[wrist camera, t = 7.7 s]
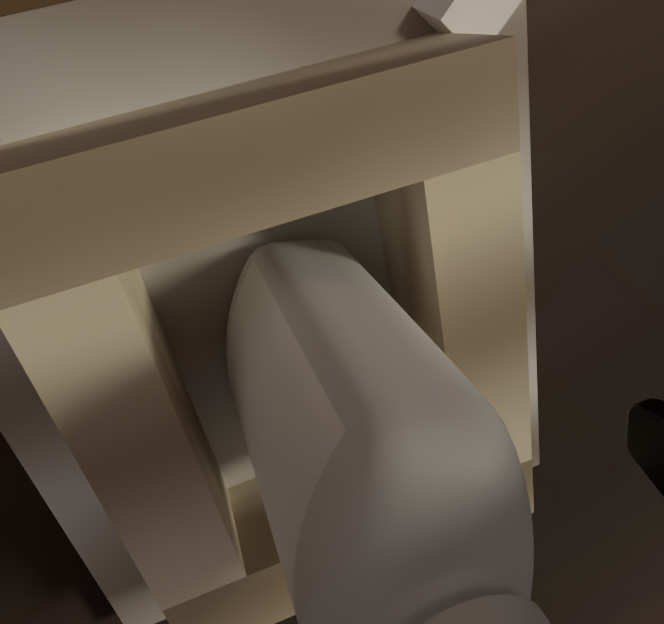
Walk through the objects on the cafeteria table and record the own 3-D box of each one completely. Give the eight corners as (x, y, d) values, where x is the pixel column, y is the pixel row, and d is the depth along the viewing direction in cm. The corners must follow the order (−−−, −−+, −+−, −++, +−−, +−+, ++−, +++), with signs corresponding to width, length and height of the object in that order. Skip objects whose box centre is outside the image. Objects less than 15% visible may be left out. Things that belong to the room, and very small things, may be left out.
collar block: (522, 446, 21) (600, 530, 17) (129, 605, 18) (130, 739, 15) (496, -92, 13) (631, -131, 9) (-202, 65, 10) (-362, 87, 7)
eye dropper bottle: (161, 403, 14) (252, 1343, 4) (272, 203, 13) (800, 866, 3) (307, 448, 16) (610, 1154, 6) (416, 279, 15) (1027, 825, 5)
